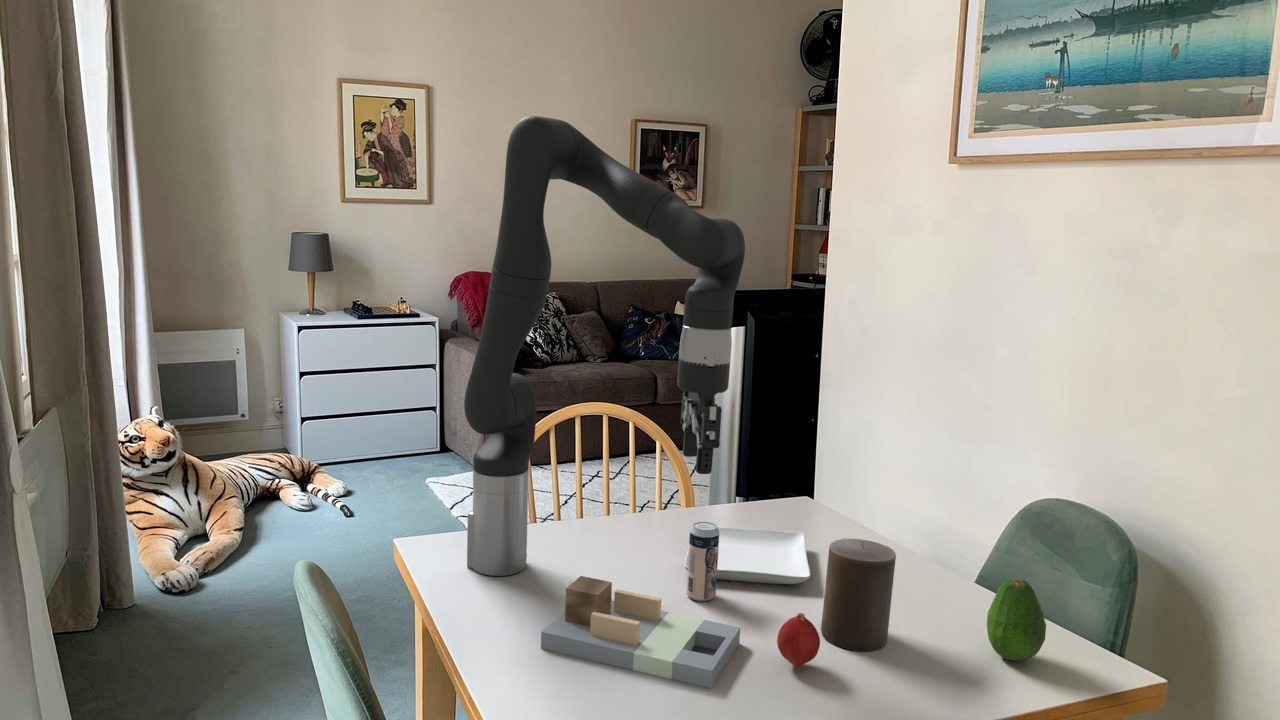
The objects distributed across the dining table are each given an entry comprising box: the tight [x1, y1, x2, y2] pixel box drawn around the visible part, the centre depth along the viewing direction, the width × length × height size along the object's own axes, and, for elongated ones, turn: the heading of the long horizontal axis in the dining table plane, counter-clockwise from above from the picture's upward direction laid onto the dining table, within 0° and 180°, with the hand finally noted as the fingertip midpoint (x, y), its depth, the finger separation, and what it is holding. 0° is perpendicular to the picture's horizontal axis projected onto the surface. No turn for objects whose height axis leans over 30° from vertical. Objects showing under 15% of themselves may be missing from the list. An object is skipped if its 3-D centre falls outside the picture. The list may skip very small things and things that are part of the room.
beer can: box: [686, 521, 720, 602], centre depth 148 cm, size 5×5×12 cm
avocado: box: [986, 577, 1047, 662], centre depth 131 cm, size 8×8×12 cm
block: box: [564, 575, 613, 626], centre depth 134 cm, size 5×5×5 cm
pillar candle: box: [820, 537, 897, 652], centre depth 136 cm, size 10×10×15 cm
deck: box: [540, 589, 741, 689], centre depth 131 cm, size 25×14×6 cm, turn 69°
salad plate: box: [683, 526, 811, 585], centre depth 163 cm, size 21×21×3 cm
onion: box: [776, 612, 821, 668], centre depth 127 cm, size 6×6×8 cm
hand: (696, 464), depth 137 cm, fingers open, 8 cm apart
